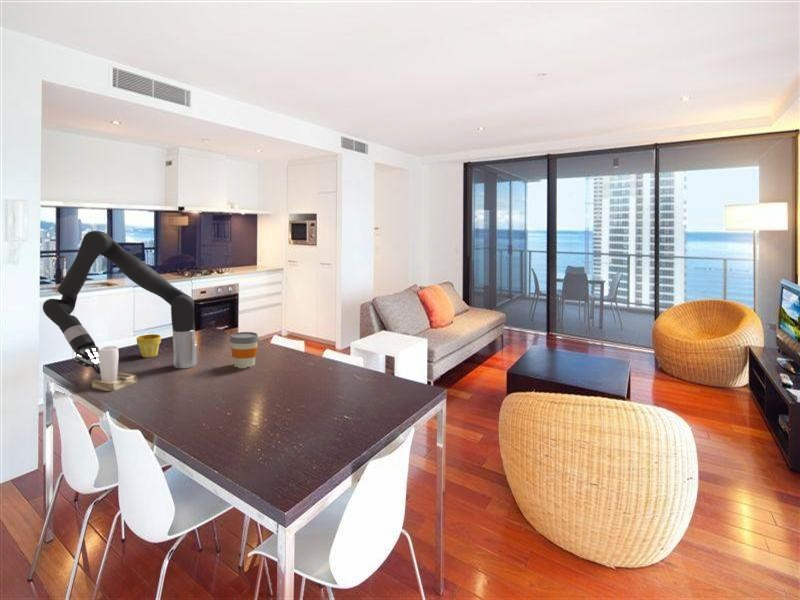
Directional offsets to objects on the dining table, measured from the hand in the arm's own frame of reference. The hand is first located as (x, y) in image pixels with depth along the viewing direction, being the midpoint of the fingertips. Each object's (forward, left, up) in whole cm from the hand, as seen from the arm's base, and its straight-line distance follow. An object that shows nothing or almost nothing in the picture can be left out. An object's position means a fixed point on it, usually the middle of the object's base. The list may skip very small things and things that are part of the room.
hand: (101, 372), depth 175 cm
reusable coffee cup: (-44, +35, -5) cm, 56 cm away
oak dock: (-1, +6, -5) cm, 8 cm away
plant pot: (-37, -16, -5) cm, 40 cm away
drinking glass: (0, +3, -5) cm, 6 cm away
